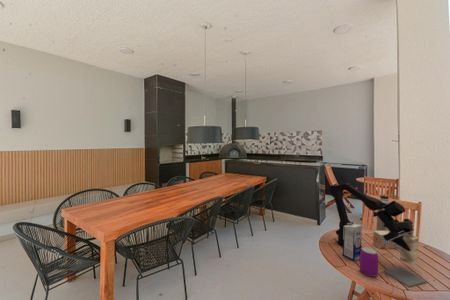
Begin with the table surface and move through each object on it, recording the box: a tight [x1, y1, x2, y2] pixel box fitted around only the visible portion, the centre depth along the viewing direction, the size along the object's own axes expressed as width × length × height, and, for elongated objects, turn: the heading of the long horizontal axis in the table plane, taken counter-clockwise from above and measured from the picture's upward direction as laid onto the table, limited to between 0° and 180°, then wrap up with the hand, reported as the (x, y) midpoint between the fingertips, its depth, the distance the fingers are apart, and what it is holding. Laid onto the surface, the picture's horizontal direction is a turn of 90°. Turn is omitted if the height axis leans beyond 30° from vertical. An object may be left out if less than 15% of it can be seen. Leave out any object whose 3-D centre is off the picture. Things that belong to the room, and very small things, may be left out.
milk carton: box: [342, 223, 363, 262], centre depth 122 cm, size 7×7×20 cm
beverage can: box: [359, 246, 379, 277], centre depth 107 cm, size 8×8×12 cm
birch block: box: [399, 234, 419, 266], centre depth 106 cm, size 5×5×13 cm
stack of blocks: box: [372, 229, 414, 250], centre depth 135 cm, size 21×6×12 cm, turn 93°
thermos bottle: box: [376, 195, 391, 231], centre depth 152 cm, size 8×8×28 cm
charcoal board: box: [382, 266, 428, 288], centre depth 104 cm, size 12×12×1 cm
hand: (412, 249), depth 105 cm, fingers closed on birch block, 5 cm apart
